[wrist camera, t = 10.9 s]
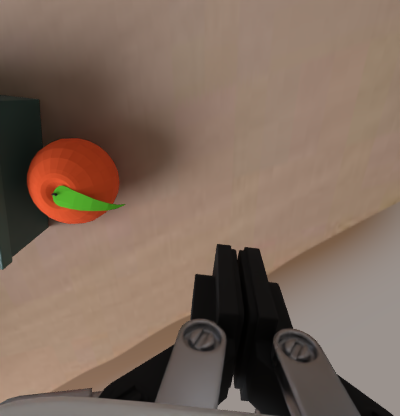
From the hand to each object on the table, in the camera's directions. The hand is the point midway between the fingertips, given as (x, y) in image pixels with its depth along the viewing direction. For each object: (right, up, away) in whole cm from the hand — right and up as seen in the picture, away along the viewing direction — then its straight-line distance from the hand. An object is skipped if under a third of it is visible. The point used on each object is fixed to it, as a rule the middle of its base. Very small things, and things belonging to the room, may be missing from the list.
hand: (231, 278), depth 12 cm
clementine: (-11, +6, +16) cm, 20 cm away
